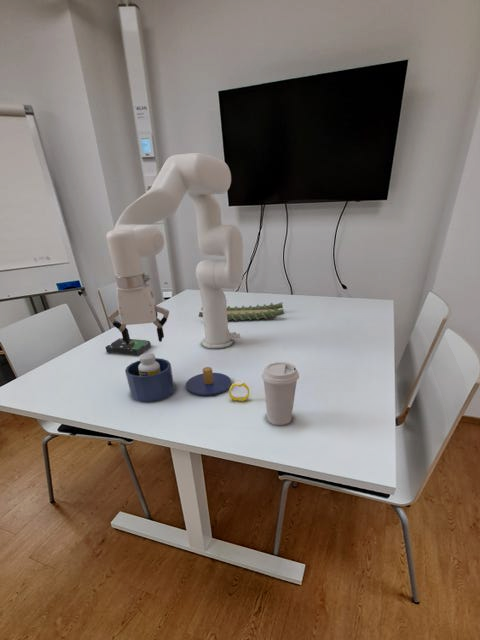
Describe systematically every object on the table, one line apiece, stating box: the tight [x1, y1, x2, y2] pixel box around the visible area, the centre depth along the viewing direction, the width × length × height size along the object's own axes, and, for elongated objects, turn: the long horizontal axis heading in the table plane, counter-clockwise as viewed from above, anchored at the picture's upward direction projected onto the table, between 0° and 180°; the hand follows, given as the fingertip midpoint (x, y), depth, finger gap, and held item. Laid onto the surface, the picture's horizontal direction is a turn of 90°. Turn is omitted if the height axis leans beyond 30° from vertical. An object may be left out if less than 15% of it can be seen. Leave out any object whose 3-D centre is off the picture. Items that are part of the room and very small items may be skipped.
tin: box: [124, 357, 175, 403], centre depth 112 cm, size 14×14×8 cm
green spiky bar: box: [198, 302, 285, 322], centre depth 172 cm, size 41×14×5 cm, turn 88°
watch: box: [228, 379, 250, 402], centre depth 105 cm, size 6×3×6 cm, turn 84°
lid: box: [185, 366, 232, 396], centre depth 114 cm, size 15×15×6 cm
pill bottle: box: [138, 352, 161, 376], centre depth 111 cm, size 6×6×12 cm
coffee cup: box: [260, 361, 300, 426], centre depth 93 cm, size 10×10×15 cm
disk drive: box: [105, 337, 152, 356], centre depth 144 cm, size 10×3×15 cm
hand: (144, 341), depth 106 cm, fingers open, 9 cm apart
